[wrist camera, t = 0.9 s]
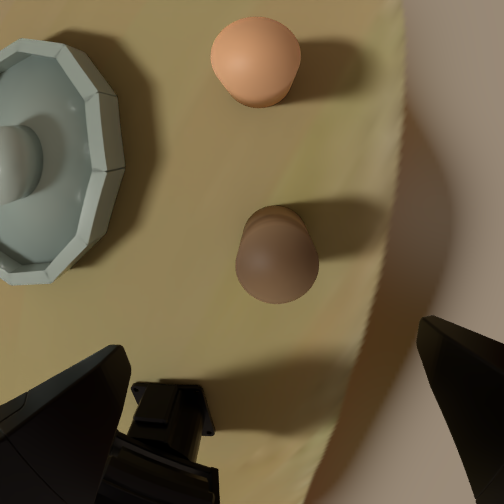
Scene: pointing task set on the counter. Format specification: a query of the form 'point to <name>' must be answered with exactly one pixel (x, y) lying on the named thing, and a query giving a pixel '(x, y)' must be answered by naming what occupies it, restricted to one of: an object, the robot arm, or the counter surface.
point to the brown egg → (256, 60)
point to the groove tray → (54, 159)
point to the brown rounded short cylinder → (276, 256)
